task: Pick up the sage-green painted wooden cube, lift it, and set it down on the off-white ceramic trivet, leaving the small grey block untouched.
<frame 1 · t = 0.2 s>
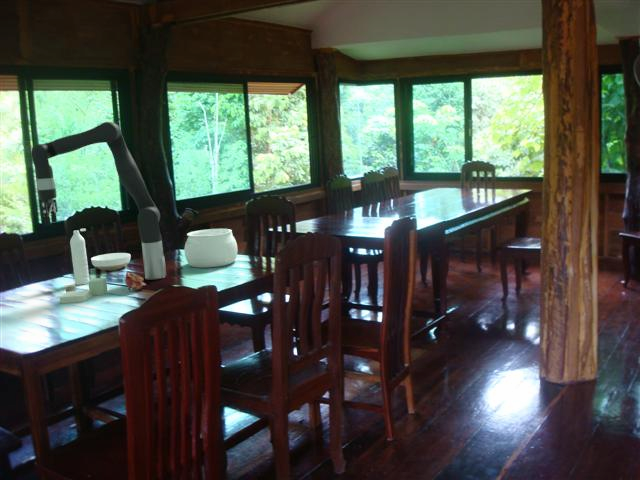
hand: (51, 223, 313), 29 cm above the table, fingers open, 8 cm apart
grey block: (71, 294, 297), on the table
trivet: (76, 299, 287), on the table
pot: (212, 264, 346), on the table
green cube: (98, 293, 296), on the table
flower: (136, 290, 298), on the table
bowl: (112, 268, 351), on the table
white bottle: (84, 283, 319), on the table
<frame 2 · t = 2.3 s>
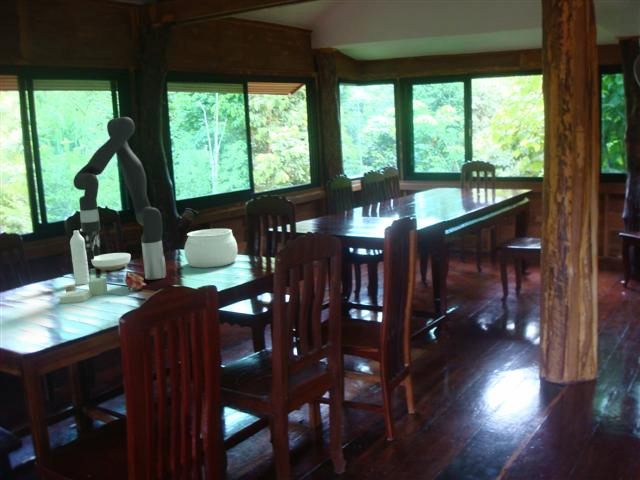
hand: (94, 257, 293), 16 cm above the table, fingers open, 8 cm apart
nothing on the table moved.
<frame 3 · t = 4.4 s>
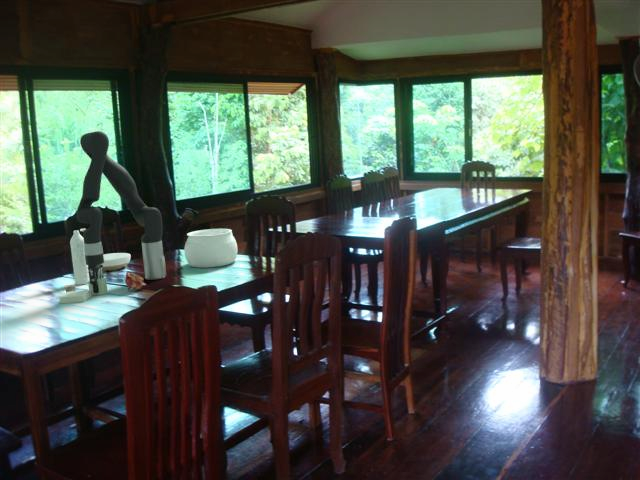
hand: (98, 290, 296), 1 cm above the table, fingers closed on green cube, 6 cm apart
green cube: (98, 293, 296), on the table, touching gripper
everything else where it was.
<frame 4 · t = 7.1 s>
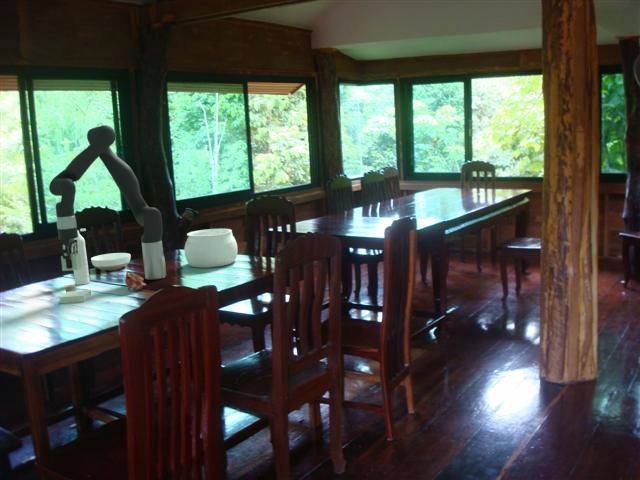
hand: (72, 266, 285), 14 cm above the table, fingers closed on green cube, 6 cm apart
green cube: (72, 268, 285), point 13 cm above the table, touching gripper
everything else where it was.
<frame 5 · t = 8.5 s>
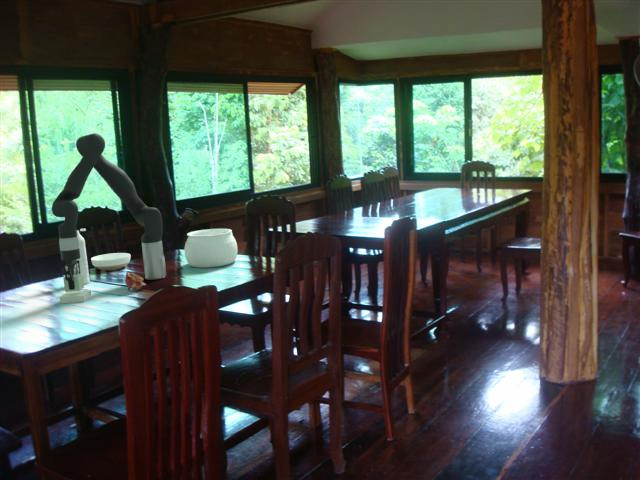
hand: (74, 287, 286), 5 cm above the table, fingers closed on green cube, 6 cm apart
green cube: (74, 289, 286), point 4 cm above the table, touching gripper
everything else where it was.
when the fingers open (5 cm above the table, at t = 9.6 s): green cube drops 1 cm, resting on trivet.
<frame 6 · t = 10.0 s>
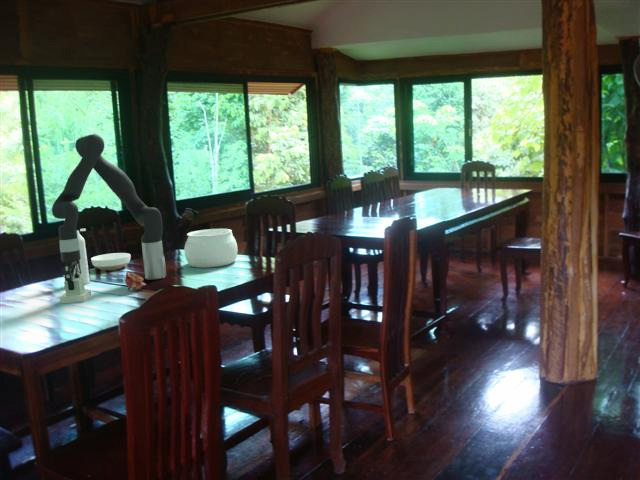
hand: (74, 287, 286), 5 cm above the table, fingers open, 8 cm apart
green cube: (75, 293, 286), point 2 cm above the table, touching trivet
everything else where it was.
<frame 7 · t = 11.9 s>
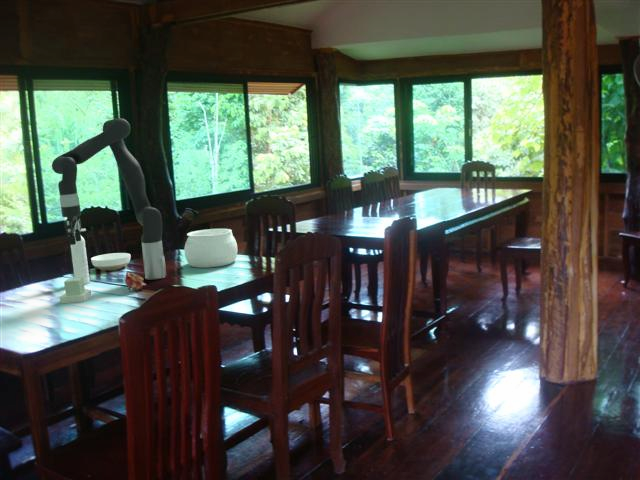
hand: (75, 242, 289), 23 cm above the table, fingers open, 8 cm apart
nothing on the table moved.
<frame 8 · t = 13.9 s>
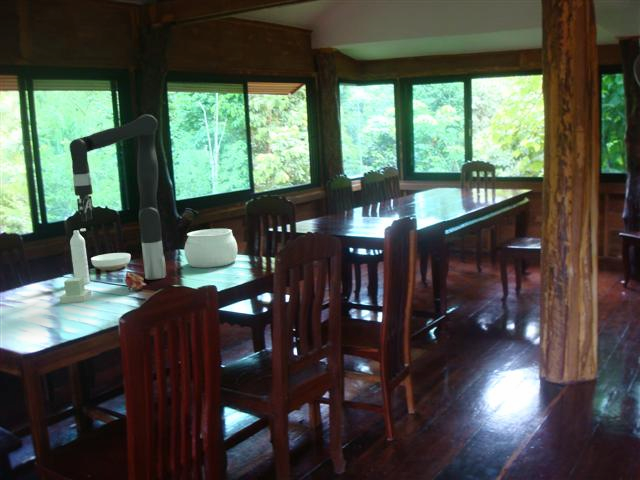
hand: (87, 220, 307), 30 cm above the table, fingers open, 8 cm apart
nothing on the table moved.
at the end: green cube inside the target area on the trivet (0.0 cm from its centre), point 2.5 cm above the trivet's base; green cube tilted 0°; the gripper is holding nothing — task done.
